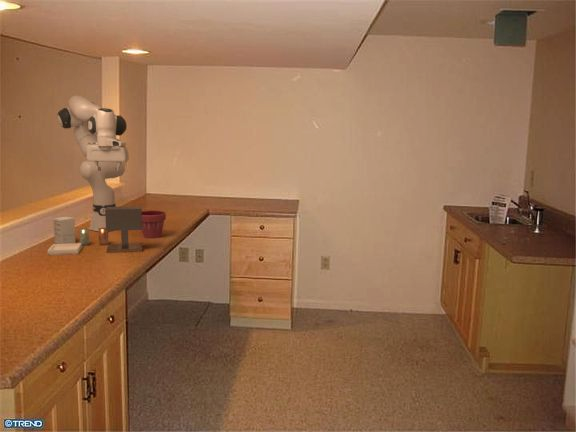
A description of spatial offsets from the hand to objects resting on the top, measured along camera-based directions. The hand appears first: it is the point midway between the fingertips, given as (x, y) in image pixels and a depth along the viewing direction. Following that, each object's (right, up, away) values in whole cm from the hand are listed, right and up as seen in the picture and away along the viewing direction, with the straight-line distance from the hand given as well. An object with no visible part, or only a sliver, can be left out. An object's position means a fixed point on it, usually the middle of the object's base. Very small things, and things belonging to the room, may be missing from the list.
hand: (108, 170), depth 279 cm
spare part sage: (-12, -36, +1) cm, 38 cm away
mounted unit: (+10, -38, -6) cm, 40 cm away
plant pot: (+16, -33, +22) cm, 43 cm away
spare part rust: (-3, -36, +3) cm, 36 cm away
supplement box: (-23, -36, +5) cm, 43 cm away
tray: (-16, -39, -12) cm, 43 cm away
